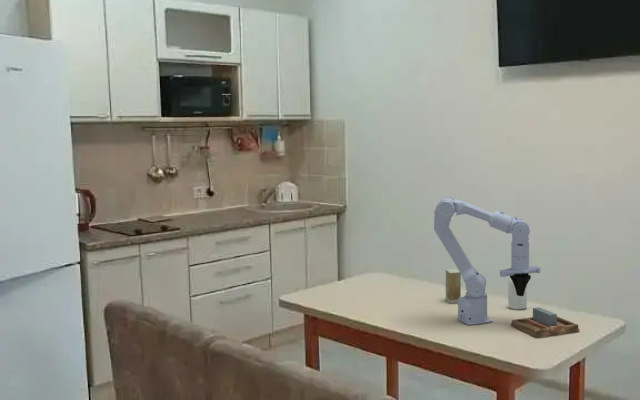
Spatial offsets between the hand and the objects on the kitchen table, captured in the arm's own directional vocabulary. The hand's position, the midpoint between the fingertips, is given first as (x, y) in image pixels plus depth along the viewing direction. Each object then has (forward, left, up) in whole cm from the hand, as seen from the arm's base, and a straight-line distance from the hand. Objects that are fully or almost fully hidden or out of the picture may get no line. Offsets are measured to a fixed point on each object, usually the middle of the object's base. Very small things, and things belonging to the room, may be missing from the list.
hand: (520, 295), depth 221 cm
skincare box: (-7, +33, -10) cm, 35 cm away
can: (+10, +16, -10) cm, 21 cm away
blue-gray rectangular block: (+3, -9, -8) cm, 13 cm away
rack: (+3, -9, -9) cm, 13 cm away
